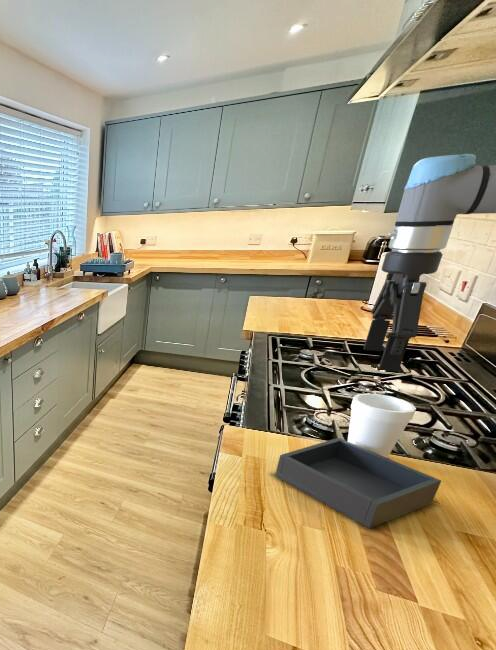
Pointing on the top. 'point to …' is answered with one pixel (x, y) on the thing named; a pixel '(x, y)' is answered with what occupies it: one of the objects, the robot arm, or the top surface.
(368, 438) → the foam cup
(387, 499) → the tray
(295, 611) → the top surface
